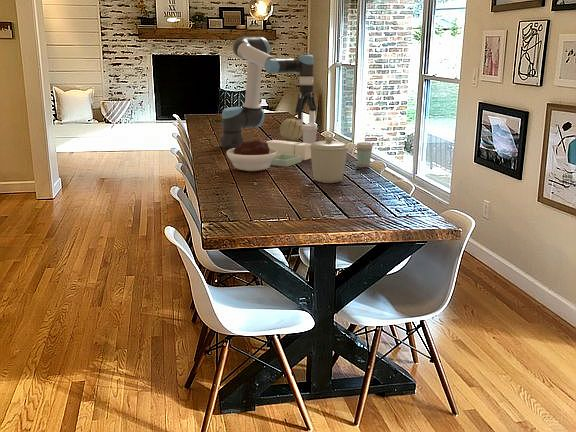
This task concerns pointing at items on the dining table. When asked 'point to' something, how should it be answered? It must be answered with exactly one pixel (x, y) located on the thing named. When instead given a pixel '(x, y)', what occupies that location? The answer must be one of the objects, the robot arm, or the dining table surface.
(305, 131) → the coffee cup
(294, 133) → the cantaloupe
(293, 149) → the ticket bar
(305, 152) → the stub
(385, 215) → the dining table surface
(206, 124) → the dining table surface
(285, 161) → the stub tray
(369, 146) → the coffee cup
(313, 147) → the canister
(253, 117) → the robot arm
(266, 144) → the white serving bowl
